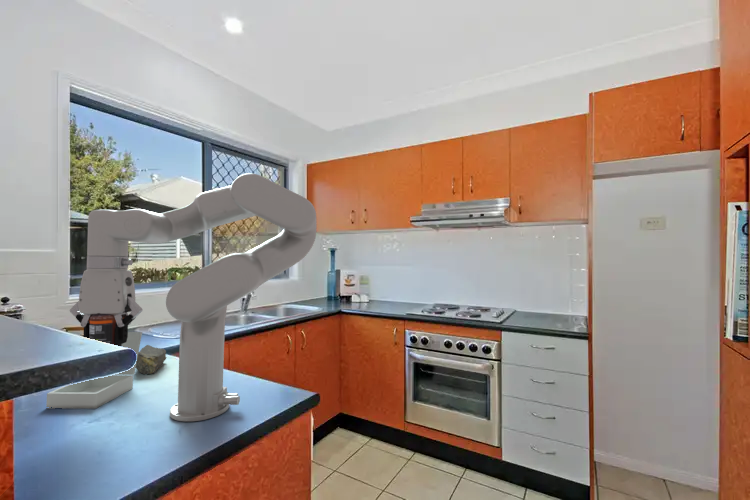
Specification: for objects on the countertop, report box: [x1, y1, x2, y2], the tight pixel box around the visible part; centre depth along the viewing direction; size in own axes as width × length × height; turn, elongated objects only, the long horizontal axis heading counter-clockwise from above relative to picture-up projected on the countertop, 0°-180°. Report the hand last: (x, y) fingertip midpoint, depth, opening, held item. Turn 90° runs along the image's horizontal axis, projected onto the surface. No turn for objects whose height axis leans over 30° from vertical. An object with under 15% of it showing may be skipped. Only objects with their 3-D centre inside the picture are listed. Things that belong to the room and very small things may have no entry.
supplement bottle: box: [89, 313, 122, 346], centre depth 81 cm, size 6×6×11 cm
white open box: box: [45, 331, 143, 410], centre depth 93 cm, size 11×17×15 cm
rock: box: [135, 344, 167, 375], centre depth 116 cm, size 17×7×10 cm
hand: (105, 342), depth 81 cm, fingers closed on supplement bottle, 6 cm apart
